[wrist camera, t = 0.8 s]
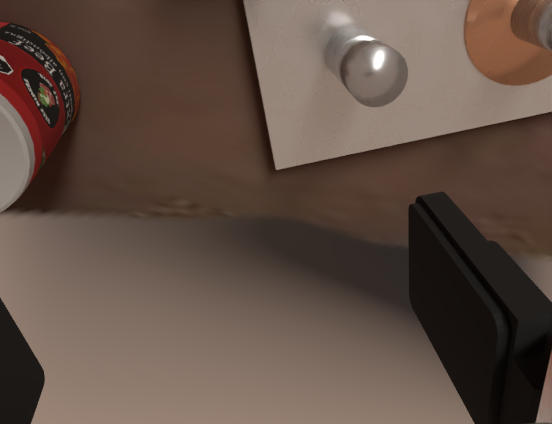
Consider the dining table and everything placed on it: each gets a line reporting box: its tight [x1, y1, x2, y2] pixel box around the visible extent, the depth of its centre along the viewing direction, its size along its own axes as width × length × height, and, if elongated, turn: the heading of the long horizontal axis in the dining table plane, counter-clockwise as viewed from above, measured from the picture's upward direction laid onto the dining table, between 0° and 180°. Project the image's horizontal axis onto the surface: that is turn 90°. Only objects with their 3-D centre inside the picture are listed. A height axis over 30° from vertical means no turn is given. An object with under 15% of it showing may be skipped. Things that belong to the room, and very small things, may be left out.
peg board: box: [243, 0, 552, 170], centre depth 29 cm, size 14×24×8 cm, turn 100°
